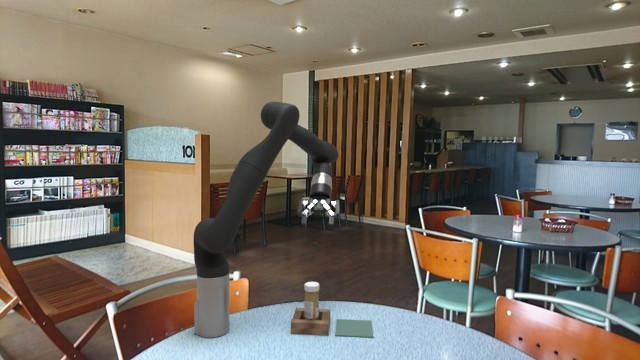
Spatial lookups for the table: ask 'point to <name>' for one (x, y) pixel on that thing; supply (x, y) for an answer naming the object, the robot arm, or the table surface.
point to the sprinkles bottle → (311, 301)
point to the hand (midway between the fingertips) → (317, 226)
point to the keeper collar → (310, 323)
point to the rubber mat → (354, 328)
